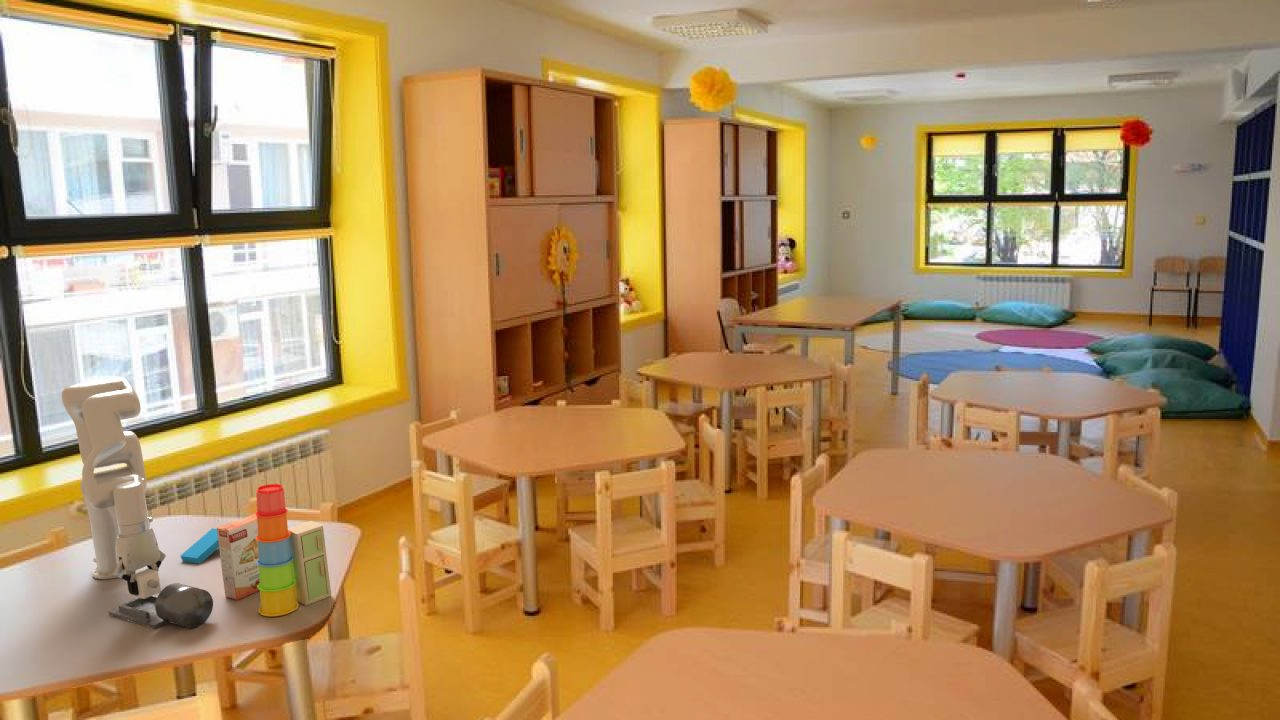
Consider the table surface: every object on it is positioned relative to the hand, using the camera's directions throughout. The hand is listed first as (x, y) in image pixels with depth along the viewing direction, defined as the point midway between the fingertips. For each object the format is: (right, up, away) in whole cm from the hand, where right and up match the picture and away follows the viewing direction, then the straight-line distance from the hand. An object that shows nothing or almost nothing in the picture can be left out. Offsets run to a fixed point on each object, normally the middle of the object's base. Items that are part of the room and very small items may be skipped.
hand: (144, 589), depth 265 cm
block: (0, -1, 0) cm, 1 cm away
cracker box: (+25, -3, +12) cm, 28 cm away
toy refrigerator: (+45, -4, +5) cm, 45 cm away
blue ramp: (0, +1, +43) cm, 43 cm away
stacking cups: (+38, -5, -1) cm, 38 cm away
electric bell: (+6, -7, -2) cm, 9 cm away
